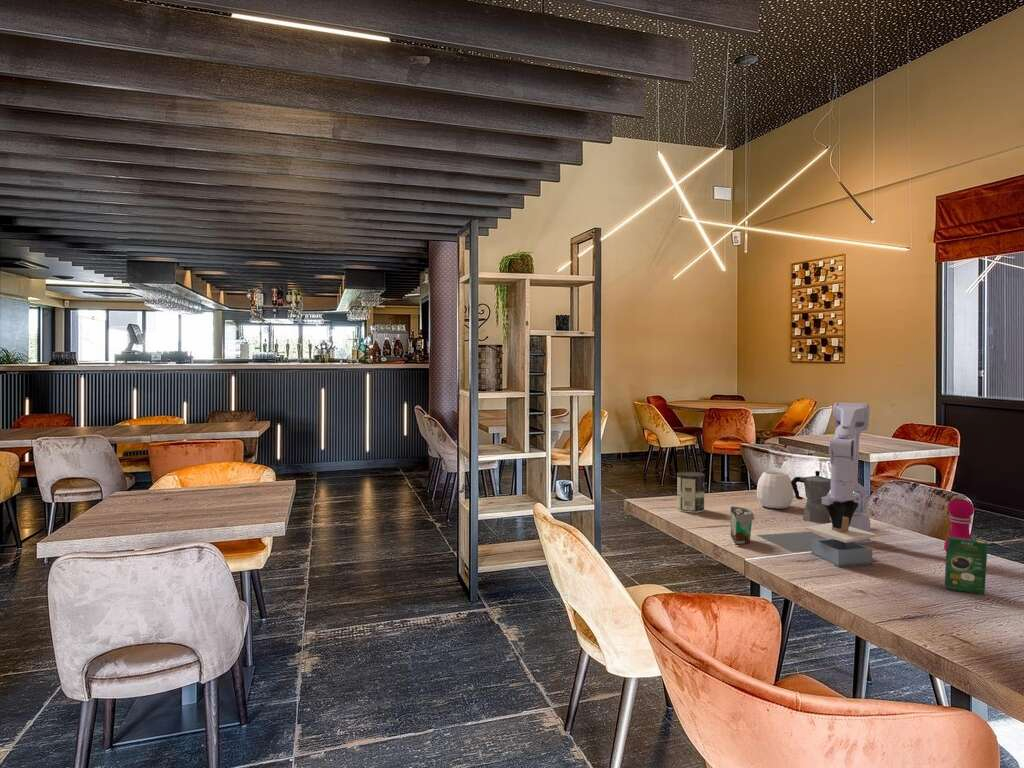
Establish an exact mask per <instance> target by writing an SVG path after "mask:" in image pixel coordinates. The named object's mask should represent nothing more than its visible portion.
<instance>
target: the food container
mask: <svg viewBox="0 0 1024 768" xmlns="http://www.w3.org/2000/svg"><path fill="white" fill-rule="evenodd" d="M753 521H755V516H754V513H753V511H752V510H751V509H749V508H746V507H739V506H730V537H731V538H732V541H733V542H734V543H735V544H734V543H733V544H734V546H735V545H740V546H742V545H743V546H744V545H748V544H750V542H751V534H752V533H751V532H752V524H753V523H752V522H753Z"/></svg>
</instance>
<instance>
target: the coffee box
mask: <svg viewBox="0 0 1024 768" xmlns="http://www.w3.org/2000/svg"><path fill="white" fill-rule="evenodd" d="M947 537H948V540H947V552H946V555H945V569H944V570H945V571H944V576H945V577H944V587H945V586H946V587H945V589H946V588H947V589H946V590H951V589H952V590H951V591H955V590H960V591H959V592H964V591H966V593H972V594H975V593H976V595H977V594H978V595H985V594H986V593H985V592H986V579H987V577H986V575H987V559H988V543H987V541H986V540H980V539H966V538H958V537H951V536H949V535H947Z"/></svg>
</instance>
